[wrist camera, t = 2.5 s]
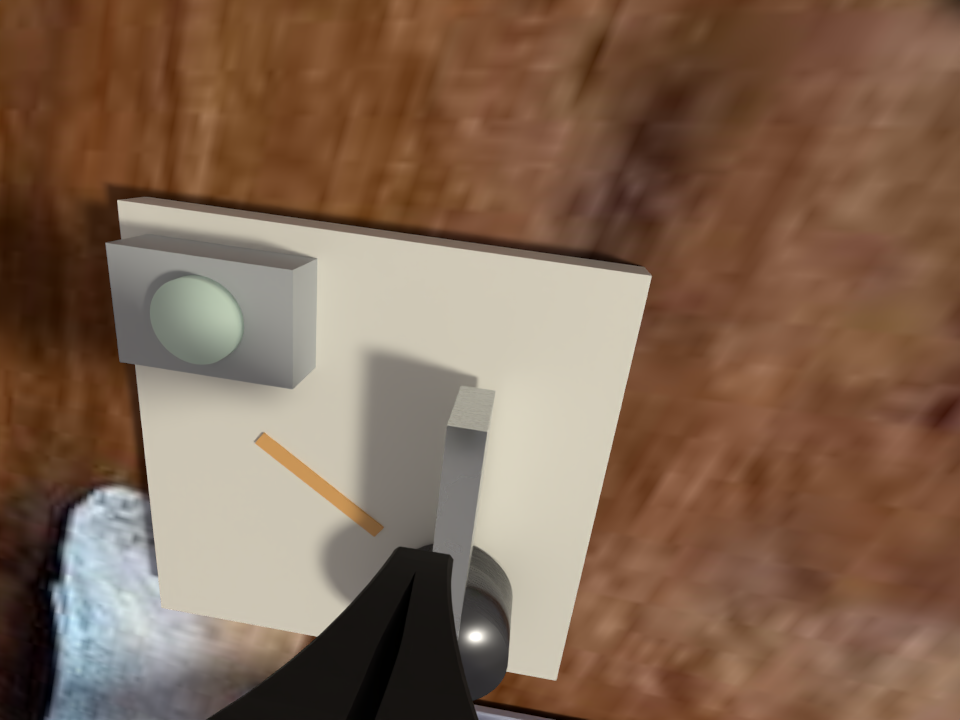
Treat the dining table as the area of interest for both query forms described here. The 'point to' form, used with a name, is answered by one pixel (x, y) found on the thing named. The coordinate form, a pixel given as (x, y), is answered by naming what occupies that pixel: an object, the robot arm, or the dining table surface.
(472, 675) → the knob
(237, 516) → the leveling plate
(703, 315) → the dining table surface
